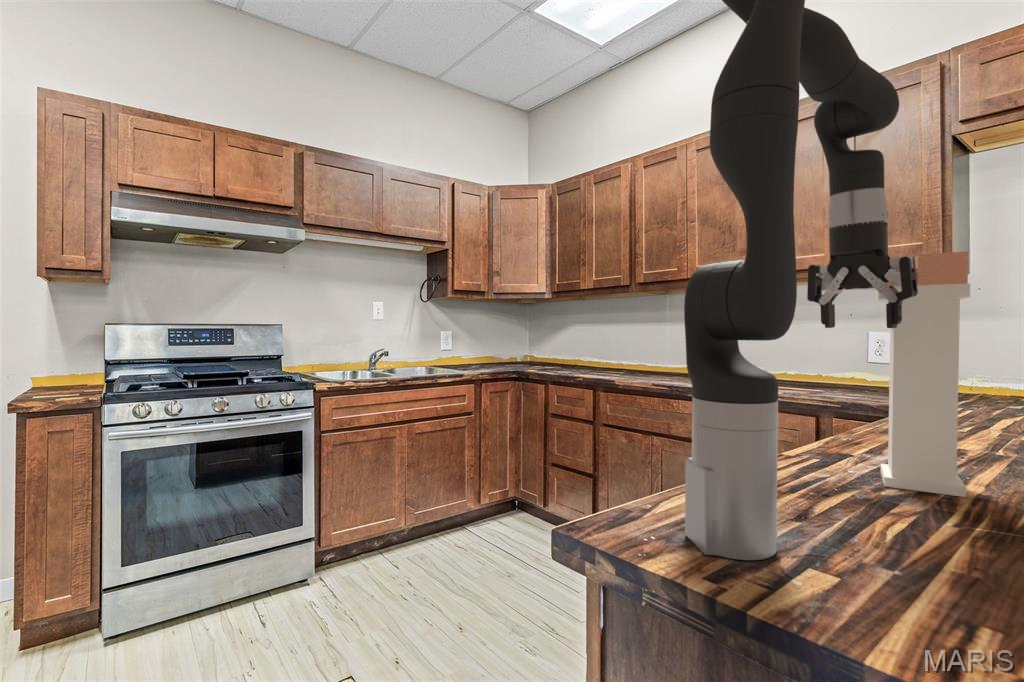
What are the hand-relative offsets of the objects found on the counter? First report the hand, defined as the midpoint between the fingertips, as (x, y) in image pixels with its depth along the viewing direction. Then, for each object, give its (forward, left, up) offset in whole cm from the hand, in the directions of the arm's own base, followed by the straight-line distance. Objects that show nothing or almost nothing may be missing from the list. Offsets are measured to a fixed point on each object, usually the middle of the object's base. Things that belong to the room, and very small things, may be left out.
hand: (859, 327), depth 81 cm
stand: (+12, +3, -25) cm, 28 cm away
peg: (+8, +5, +7) cm, 12 cm away
